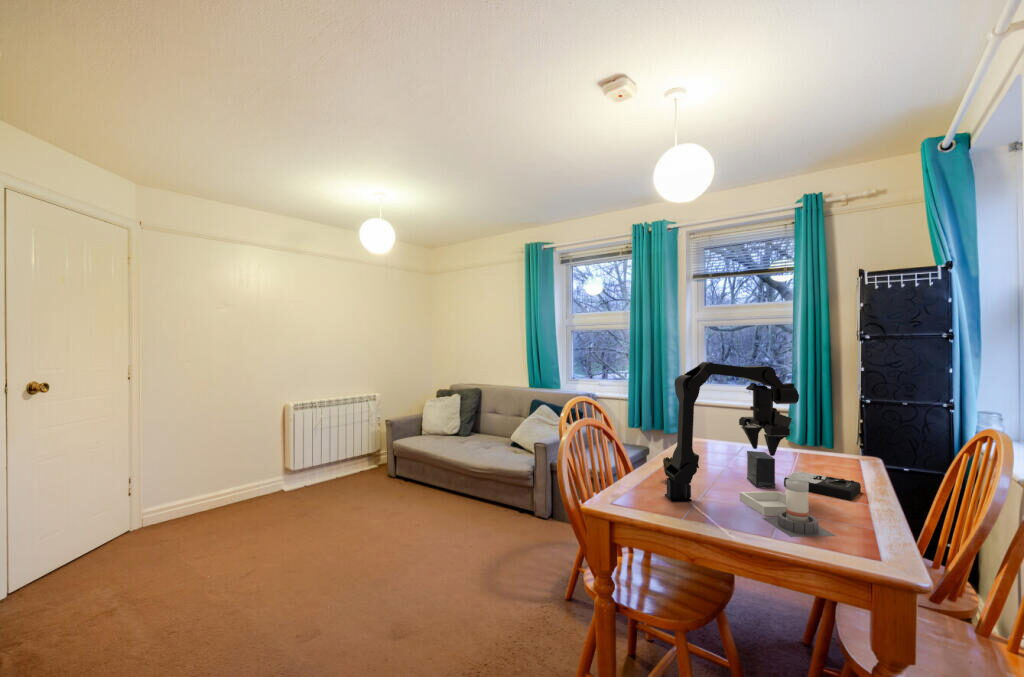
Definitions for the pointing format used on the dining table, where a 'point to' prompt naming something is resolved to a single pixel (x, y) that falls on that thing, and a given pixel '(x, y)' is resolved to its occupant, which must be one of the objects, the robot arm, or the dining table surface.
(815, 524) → the fuse holder
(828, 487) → the multimeter
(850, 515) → the dining table surface
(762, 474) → the small box
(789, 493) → the cylinder
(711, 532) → the dining table surface
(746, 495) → the tray
